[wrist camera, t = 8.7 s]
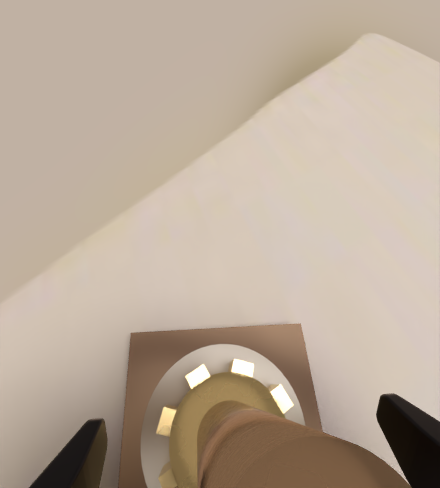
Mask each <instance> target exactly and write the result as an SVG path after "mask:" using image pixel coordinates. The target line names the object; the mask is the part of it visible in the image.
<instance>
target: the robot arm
mask: <svg viewBox="0 0 440 488" xmlns="http://www.w3.org/2000/svg"><path fill="white" fill-rule="evenodd" d="M376 416H377V421H378V423H379V425H380V427H381V429H382V431H383V433H384V435H385V437H386V439H387V441H388V443H389V445H390V447H391V449H392V451H393V453H394V455H395V457H396V459H397V461H398V463H399V465H400V467H401V469H402V471H403V473H404V475H405V477H406V479H407V481H408V482H409V484H410V486H411V487H412V488H440V421H438V420H436V419H435V418H433V417H432V416H430V415H428V414H427V413H425V412H424V411H422V410H420V409H419V408H417V407H416V406H414V405H413V404H411V403H409V402H408V401H406V400H405V399H403V398H401V397H400V396H398V395H396V394H383V395H381V396H380V400H379V404H378V408H377V413H376ZM106 450H107V434H106V427H105V422H104V420H103V419H101V418H100V419H90V420H88V421H87V422H86V423H85V424H84V425H83V426H82V427H81V429H80V430H79V431H78V432H77V433H76V434H75V435H74V437H73V438H72V439H71V440H70V441H69V442H68V443H67V445H66V446H65V447H64V448H63V449H62V450H61V452H60V453H59V454H58V455H57V456H56V457H55V458H54V460H53V461H52V462H51V463H50V464H49V465H48V466H47V468H46V469H45V470H44V471H43V472H42V473H41V474H40V476H39V477H38V478H37V479H36V480H35V481H34V483H33V484H32V485H31V486H30V487H29V488H99V485H100V480H101V475H102V470H103V465H104V460H105V455H106Z"/></svg>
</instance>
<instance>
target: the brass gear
mask: <svg viewBox="0 0 440 488" xmlns="http://www.w3.org/2000/svg"><path fill="white" fill-rule="evenodd" d="M253 368H254V364H252V363H248V362H244V361H241V360H237V359H233V360H232V361H230V364H229V369H228V372H221V373H217V374H213V375H211V376H210V375H209V373H208V371H207V369H206V368H205V366H204V364H203V365H201V366H200V367H198V368H197V369H195V370H194V371H192V372H191V373H189V374H188V375H186V376H185V377H186V379H187V381H188V383H189V385H190V387H191V389H190V390H189V391H188V393H187V394H186V395H185V397H184V398H183V399H182V401H181V403H180V404H179V406H178V407H175V406H172V405H168V404H167V405H166V406H164V408H163V411H162V415H161V418H160V422H159V425H158V428H157V432H156V433H157V434H160V435H164V436H168V437H169V456H170V461H169V462H168V463H167V464H165V465H164V466H163V467H162V470H161V472H160V475H159V477H158V479H159V482H160V484H161V486H162V488H412V487H411V486H410V485H409V484H408V483H407V482H406V481H405V480H404V479H403V478H402V477H401V476H400V475H399V473H397V472H396V471H395V470H394V469H393V468H392V467H390V466H389V465H388V464H387V463H386V462H385V461H383V460H382V459H380V458H379V457H377V456H376V455H374V454H373V453H371V452H370V451H368V450H366V449H364V448H362V447H360V446H358V445H356V444H353V443H351V442H348V441H345V440H342V439H340V438H337V437H334V436H331V435H329V434H326V433H323V432H321V431H318V430H315V429H312V428H310V427H307V426H304V425H301V424H299V423H296V422H293V421H290V420H288V419H286V418H285V415H284V413H285V412H286V411H287V410H288V409H289V408H291V407H292V406H293V403H292V402H291V400H290V398H289V397H288V395H287V394H286V392H285V390H284V389H283V387H282V386H281V384H273V385H270V386H269V387H265V386H264V385H263V384H262V383H261V382H259V381H258V380H256V379H254V378H252V374H253Z"/></svg>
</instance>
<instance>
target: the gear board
mask: <svg viewBox="0 0 440 488" xmlns="http://www.w3.org/2000/svg"><path fill="white" fill-rule="evenodd" d="M233 359H237V360H241V361H244V362H248V363H252V364H254V368H253V374H252V378H254V379H256V380H258V381H259V382H261V383H262V384H263V385H264V386H265V387H269V386H270V385H273V384H281V386H282V387H283V389H284V390H285V392H286V394H287V395H288V397H289V398H290V400H291V402H292V403H293V406H292V407H291V408H289V409H288V410H287V411H286V412H285V413H284V415H285V418H286V419H288V420H290V421H293V422H296V423H299V424H301V425H304V426H307V427H310V428H312V429H315V430H318V431H321V432H323V431H322V426H321V421H320V416H319V411H318V406H317V401H316V396H315V391H314V386H313V381H312V377H311V372H310V367H309V362H308V357H307V352H306V347H305V342H304V337H303V332H302V328H301V324H283V325H265V326H247V327H229V328H211V329H194V330H176V331H158V332H140V333H131V338H130V350H129V362H128V374H127V386H126V398H125V410H124V422H123V434H122V446H121V459H120V471H119V483H118V488H162V486H161V484H160V482H159V479H158V477H159V475H160V472H161V470H162V467H163V466H164V465H165V464H167V463H168V462H169V461H170V456H169V437H168V436H164V435H160V434H157V433H156V432H157V428H158V425H159V422H160V418H161V415H162V411H163V408H164V406H166V405H167V404H168V405H172V406H175V407H178V406H179V404H180V403H181V401H182V399H183V398H184V397H185V395H186V394H187V393H188V391H189V390H190V389H191V387H190V385H189V383H188V381H187V379H186V377H185V376H186V375H188V374H189V373H191V372H192V371H194V370H195V369H197V368H198V367H200V366H201V365H203V364H204V366H205V368H206V369H207V371H208V373H209V375H210V376H211V375H213V374H217V373H221V372H228V369H229V364H230V361H232V360H233Z"/></svg>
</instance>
